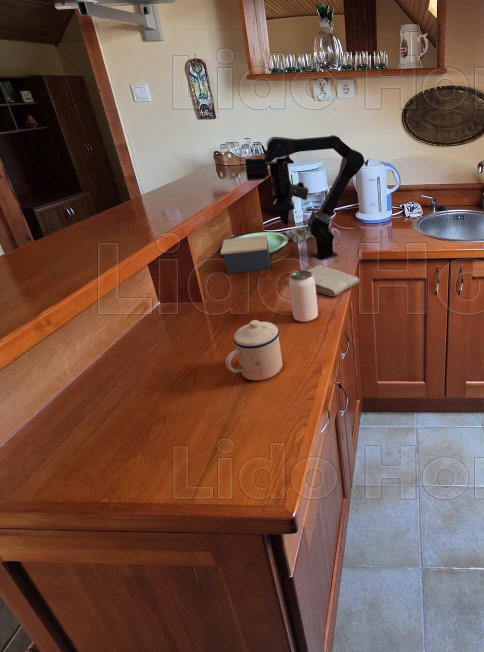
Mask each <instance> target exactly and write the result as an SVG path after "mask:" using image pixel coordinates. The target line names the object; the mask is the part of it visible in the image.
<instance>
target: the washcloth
mask: <svg viewBox="0 0 484 652" xmlns="http://www.w3.org/2000/svg"><path fill="white" fill-rule="evenodd" d="M307 271H310V272H311V273H312V276H313V277H314V279H315V287H316V293H317V292H318V293H321V294H322V295H327V296H330V297H336V296H338V295H340V294H342V293H343V292H345V291H346V290H349V289H351V288H352V287H354V286H356V285H357V284H359V282H360V279H359V277H358V276H356V275H353V274H350V273H347V272H344V271H341V270H338V269H335V268H331V267H328V266H325V265H322V264H320V265H315V266H313V268H311V269H309V270H307Z"/></svg>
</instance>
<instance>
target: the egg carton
mask: <svg viewBox="0 0 484 652" xmlns="http://www.w3.org/2000/svg"><path fill="white" fill-rule="evenodd" d="M285 235H286V237H288V238H287V240H288V241H292V242H293V243H301V241H307V240H308V239H309V238H310V239H313V238H315V237H314V236H312V234H311V233H310V231H309V229H308V224H304V225H303V226H300V227H296V228H293V229H288V230H286V232H285Z"/></svg>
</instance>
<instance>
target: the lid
mask: <svg viewBox="0 0 484 652" xmlns="http://www.w3.org/2000/svg"><path fill="white" fill-rule="evenodd" d="M267 241H268V235H257V236H247V237H238V238H228V239H223V242H222V246H221V249H220V255H224V254H231V253H240V252H249V251H258V250H267Z"/></svg>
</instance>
